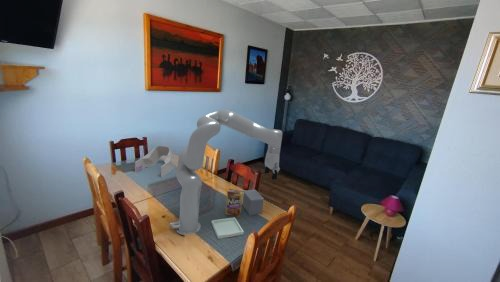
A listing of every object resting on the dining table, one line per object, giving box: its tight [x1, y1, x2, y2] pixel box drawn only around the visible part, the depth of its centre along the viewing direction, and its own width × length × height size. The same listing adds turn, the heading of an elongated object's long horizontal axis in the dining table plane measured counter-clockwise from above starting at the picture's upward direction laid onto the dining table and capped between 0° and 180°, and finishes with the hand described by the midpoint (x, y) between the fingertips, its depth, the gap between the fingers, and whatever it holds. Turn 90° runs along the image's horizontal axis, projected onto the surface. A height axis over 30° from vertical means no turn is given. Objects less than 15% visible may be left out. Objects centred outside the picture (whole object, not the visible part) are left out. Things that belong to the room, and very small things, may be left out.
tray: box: [211, 216, 245, 240], centre depth 122 cm, size 14×14×2 cm
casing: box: [134, 145, 176, 178], centre depth 187 cm, size 28×23×20 cm
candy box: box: [224, 188, 244, 218], centre depth 135 cm, size 9×4×15 cm, turn 81°
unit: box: [242, 189, 265, 216], centre depth 143 cm, size 9×13×11 cm
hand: (270, 176), depth 143 cm, fingers open, 9 cm apart
